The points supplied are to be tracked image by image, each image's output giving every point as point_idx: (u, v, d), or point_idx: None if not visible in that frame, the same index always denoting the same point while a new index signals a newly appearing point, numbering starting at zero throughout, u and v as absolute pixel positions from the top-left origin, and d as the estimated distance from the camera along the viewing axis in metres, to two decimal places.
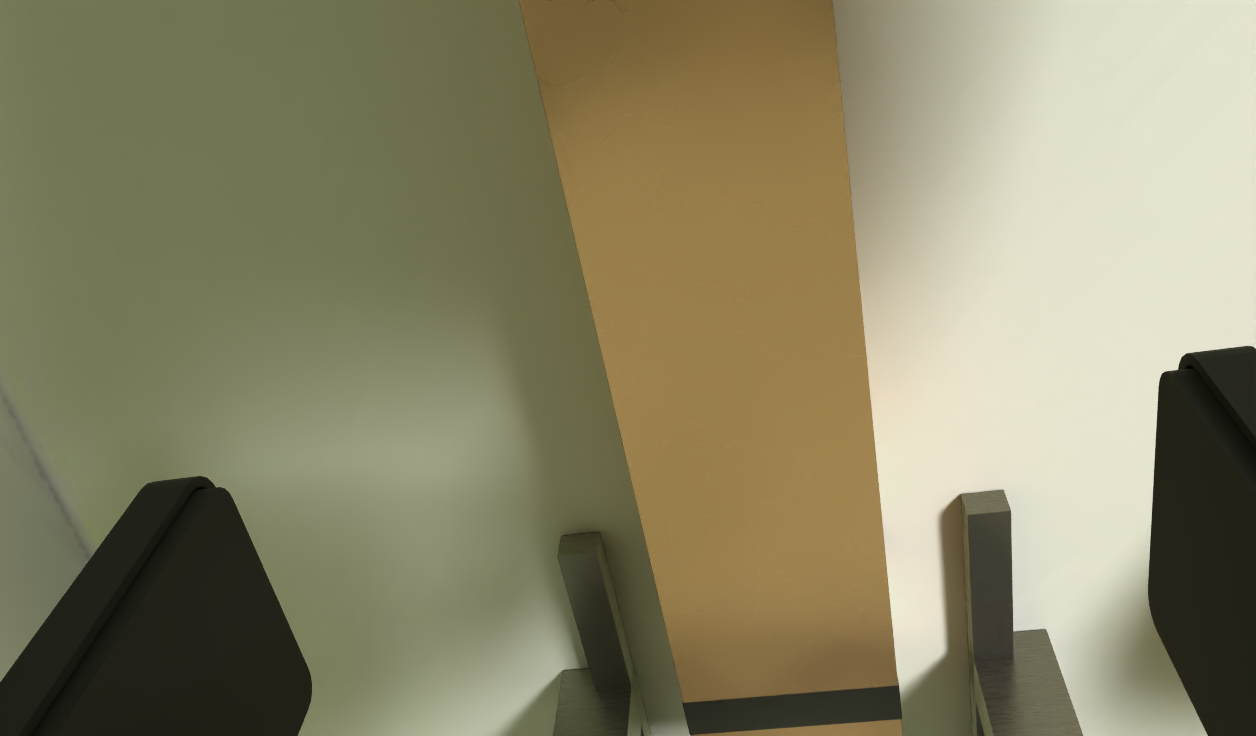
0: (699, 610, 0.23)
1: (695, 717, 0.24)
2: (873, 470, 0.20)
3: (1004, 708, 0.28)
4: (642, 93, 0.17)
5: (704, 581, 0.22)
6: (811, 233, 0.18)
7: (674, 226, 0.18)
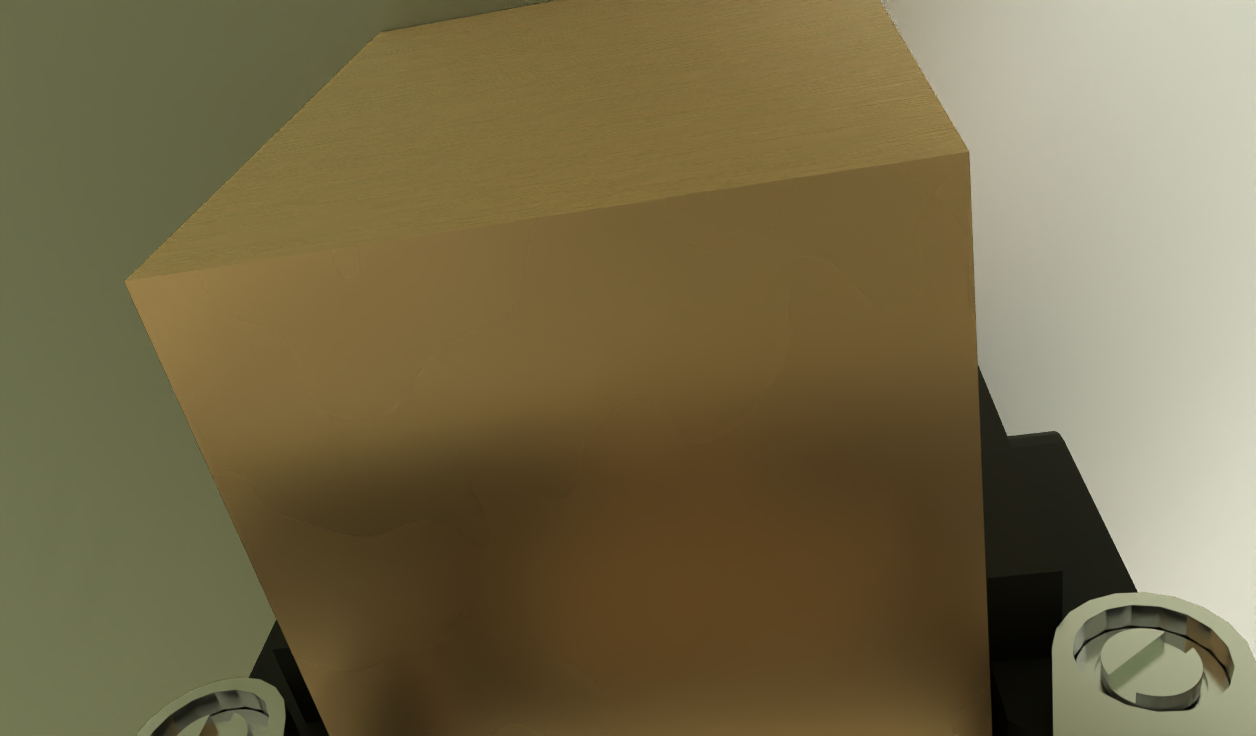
0: None
1: None
2: None
3: None
4: (535, 690, 0.08)
5: None
6: None
7: None
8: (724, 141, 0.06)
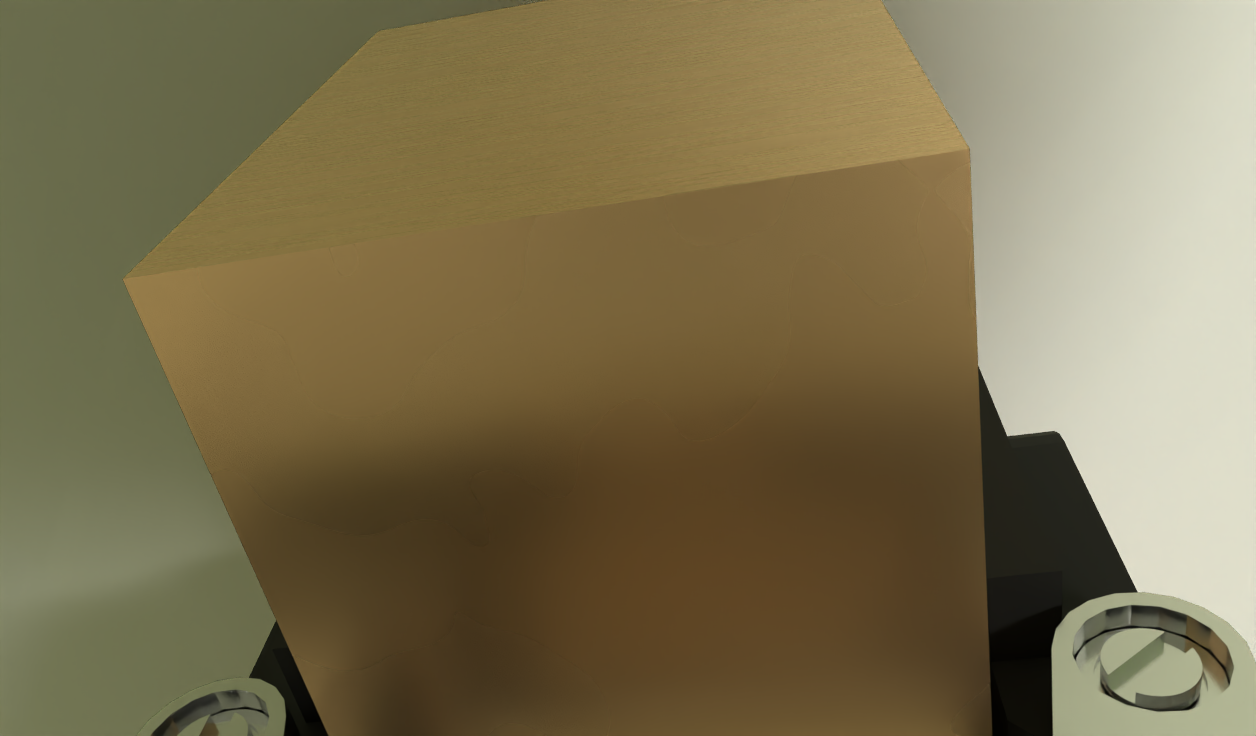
0: None
1: None
2: None
3: None
4: (532, 689, 0.08)
5: None
6: None
7: None
8: (725, 139, 0.06)
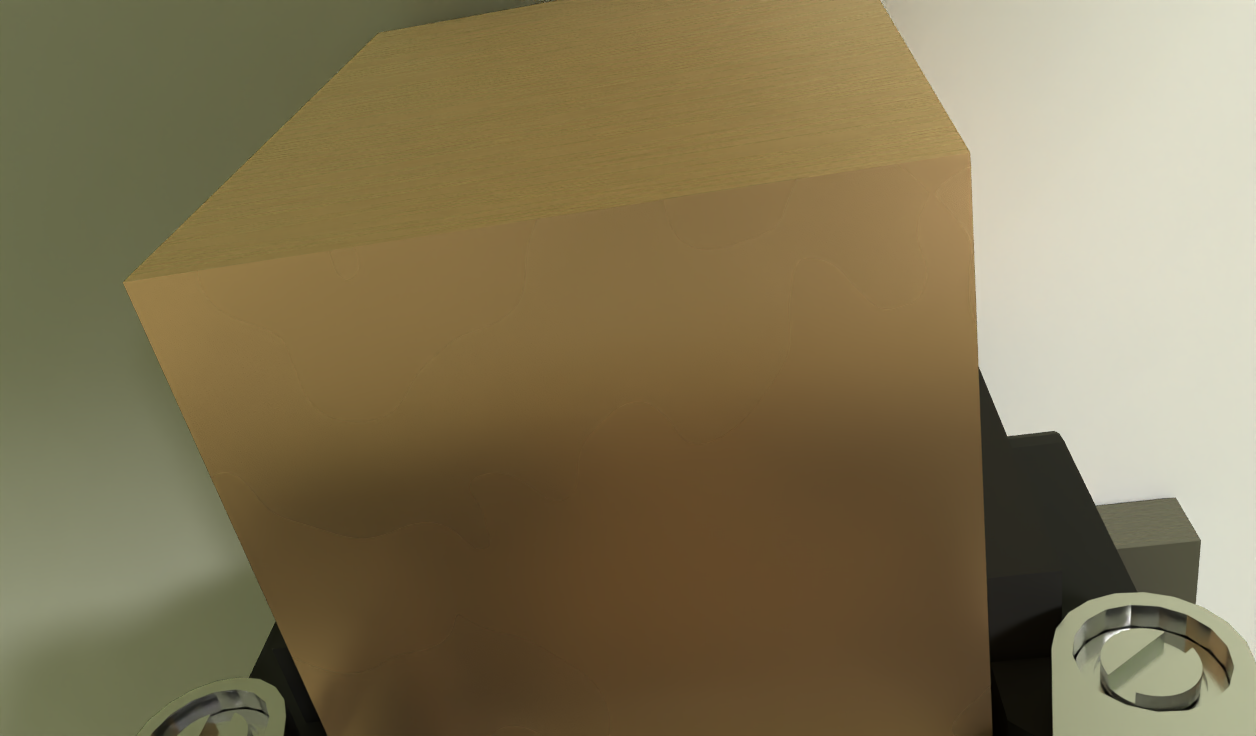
0: None
1: None
2: None
3: None
4: (533, 692, 0.08)
5: None
6: None
7: None
8: (725, 143, 0.06)
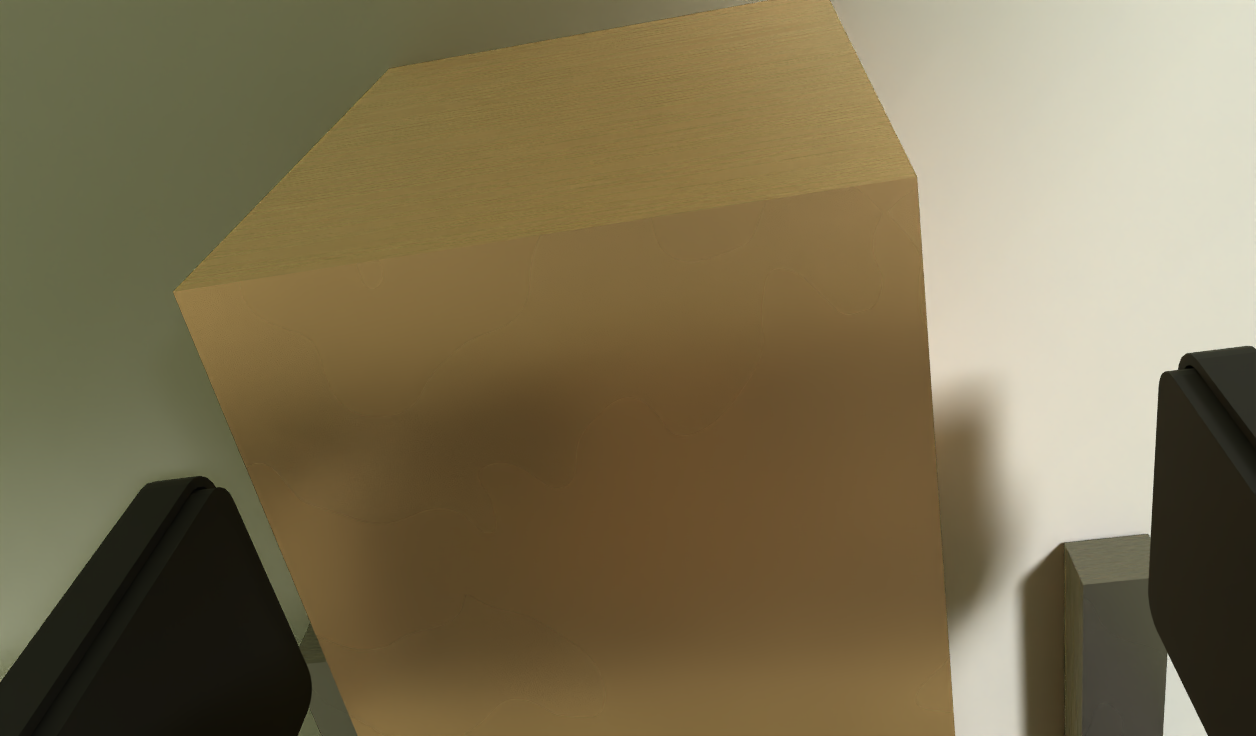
0: None
1: None
2: None
3: None
4: (535, 667, 0.08)
5: None
6: None
7: None
8: (705, 167, 0.07)
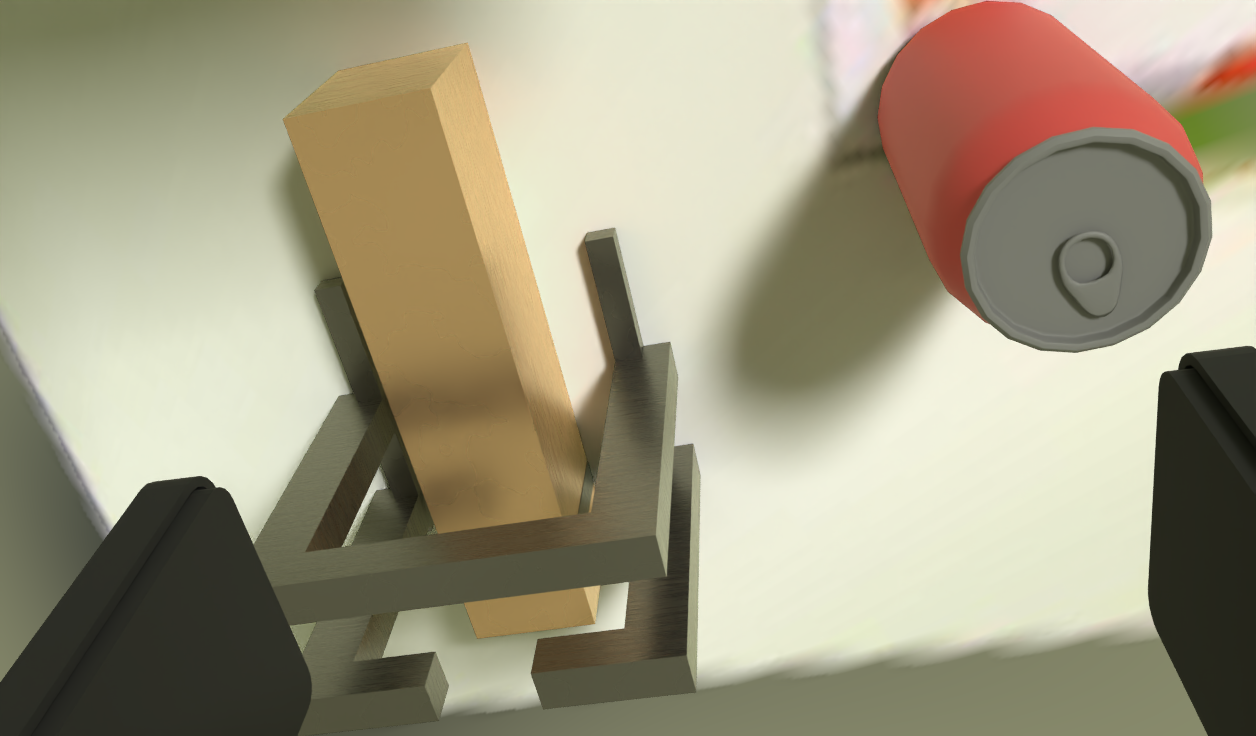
0: (448, 504, 0.39)
1: None
2: (528, 414, 0.37)
3: (623, 382, 0.39)
4: (369, 215, 0.34)
5: (448, 484, 0.38)
6: (468, 284, 0.35)
7: (397, 282, 0.35)
8: (396, 89, 0.32)
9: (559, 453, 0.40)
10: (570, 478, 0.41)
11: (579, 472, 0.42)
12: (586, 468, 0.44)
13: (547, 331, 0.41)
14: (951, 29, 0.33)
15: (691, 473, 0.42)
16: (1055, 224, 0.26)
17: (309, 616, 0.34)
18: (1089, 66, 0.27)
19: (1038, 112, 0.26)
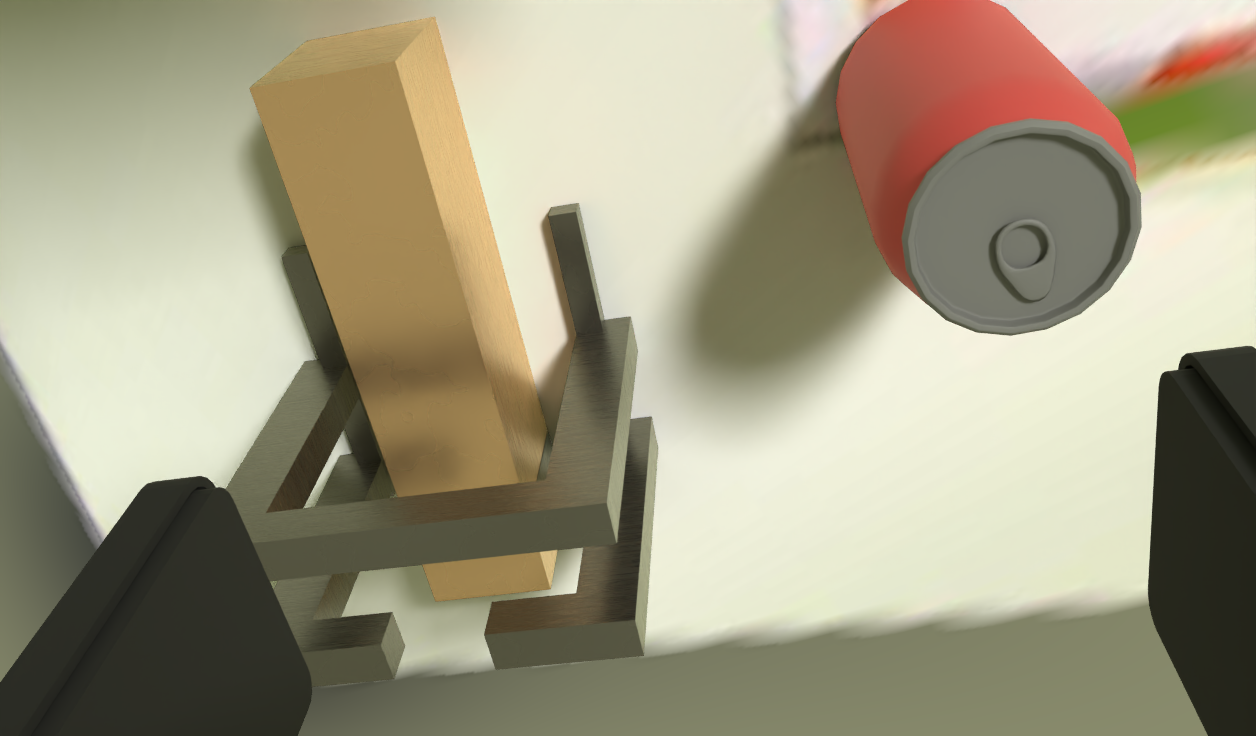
0: (409, 469, 0.40)
1: None
2: (488, 383, 0.38)
3: (582, 355, 0.40)
4: (334, 185, 0.34)
5: (408, 450, 0.39)
6: (430, 254, 0.35)
7: (360, 251, 0.35)
8: (362, 61, 0.33)
9: (518, 422, 0.41)
10: (529, 447, 0.42)
11: (539, 441, 0.43)
12: (546, 438, 0.45)
13: (509, 303, 0.42)
14: (908, 18, 0.34)
15: (648, 445, 0.43)
16: (993, 211, 0.27)
17: (269, 575, 0.34)
18: (1032, 59, 0.28)
19: (980, 102, 0.27)
